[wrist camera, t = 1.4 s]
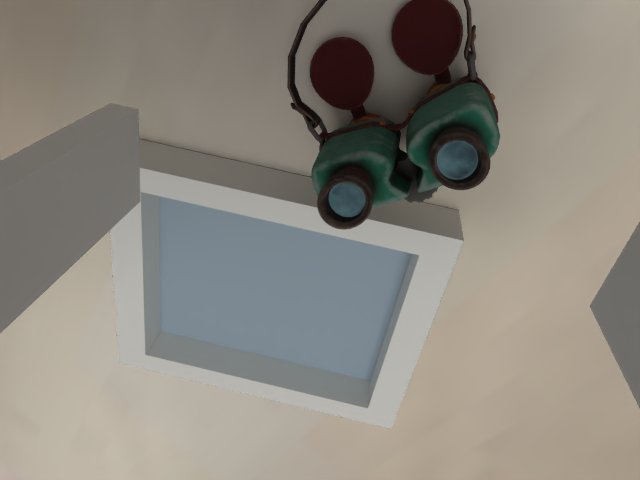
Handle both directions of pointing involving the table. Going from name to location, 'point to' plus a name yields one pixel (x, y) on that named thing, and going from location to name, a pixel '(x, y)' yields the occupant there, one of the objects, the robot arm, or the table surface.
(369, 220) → the case
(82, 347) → the table surface
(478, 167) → the binoculars
